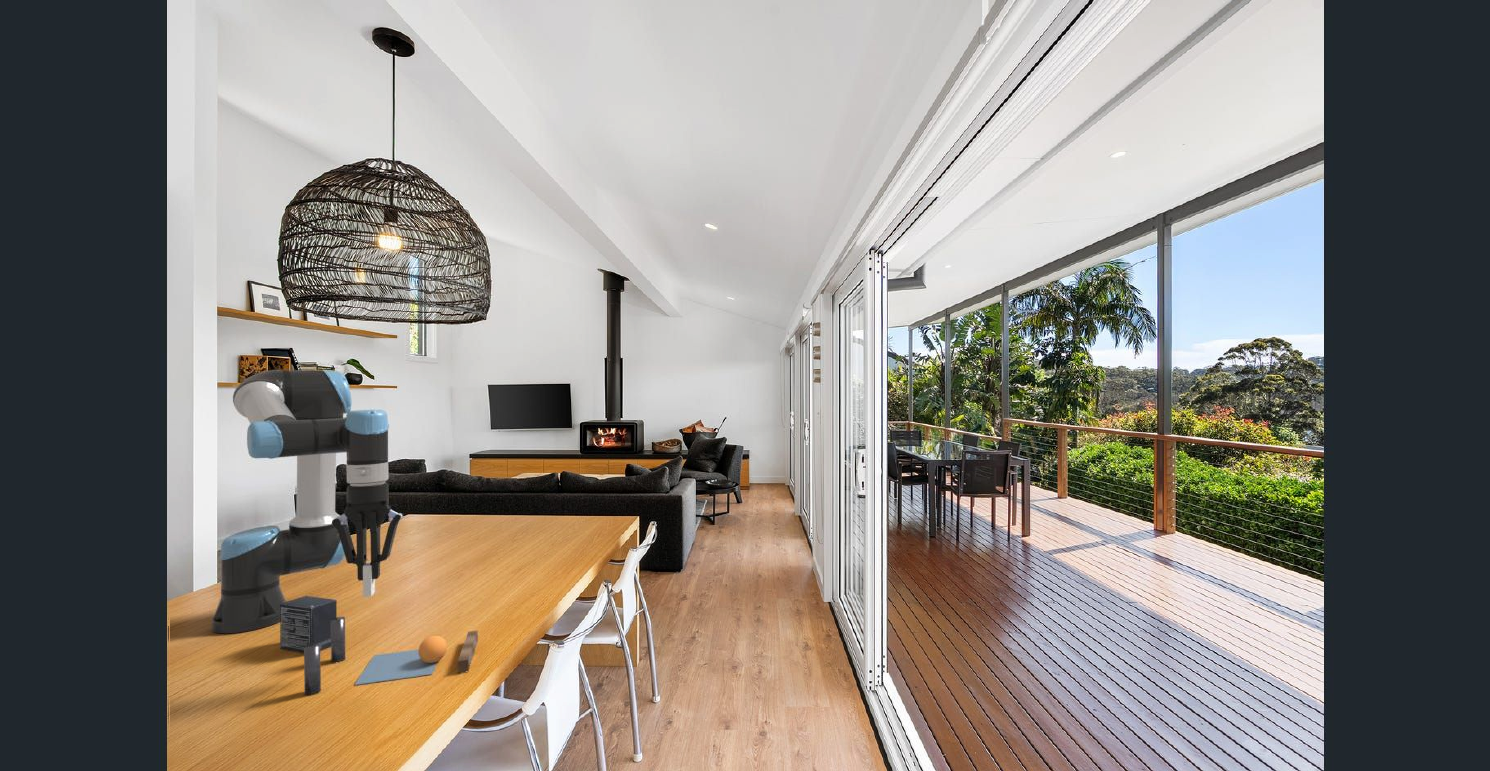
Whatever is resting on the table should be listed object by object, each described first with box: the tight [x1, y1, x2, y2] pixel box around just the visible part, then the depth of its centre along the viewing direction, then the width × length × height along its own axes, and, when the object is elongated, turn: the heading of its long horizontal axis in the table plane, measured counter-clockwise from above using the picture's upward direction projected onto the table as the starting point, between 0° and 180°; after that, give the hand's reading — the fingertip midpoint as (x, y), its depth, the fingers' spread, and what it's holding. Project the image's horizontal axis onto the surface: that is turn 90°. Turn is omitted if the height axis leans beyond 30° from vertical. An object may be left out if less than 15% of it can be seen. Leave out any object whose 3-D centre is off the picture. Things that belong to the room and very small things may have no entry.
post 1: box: [303, 643, 322, 697], centre depth 118 cm, size 3×3×9 cm
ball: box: [418, 635, 448, 663], centre depth 131 cm, size 6×6×6 cm
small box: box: [279, 595, 338, 654], centre depth 140 cm, size 11×6×10 cm, turn 71°
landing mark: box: [354, 649, 439, 687], centre depth 130 cm, size 14×14×1 cm
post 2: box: [330, 616, 346, 664], centre depth 132 cm, size 3×3×9 cm
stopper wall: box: [457, 630, 479, 674], centre depth 133 cm, size 16×2×2 cm, turn 17°
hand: (369, 594), depth 128 cm, fingers closed
